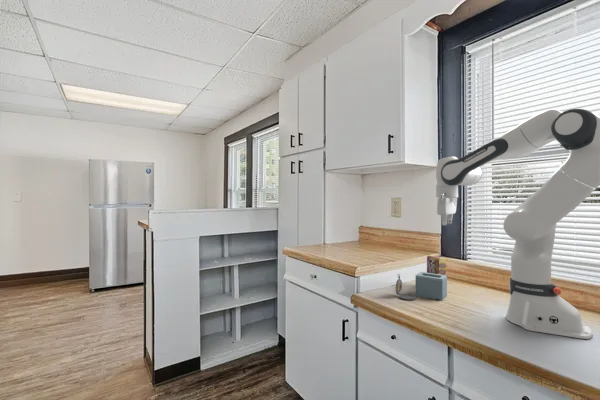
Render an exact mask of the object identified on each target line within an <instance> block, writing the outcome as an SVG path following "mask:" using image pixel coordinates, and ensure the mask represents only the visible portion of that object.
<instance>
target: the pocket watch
mask: <svg viewBox="0 0 600 400" xmlns="http://www.w3.org/2000/svg"><path fill="white" fill-rule="evenodd" d="M397 278H398V279H397V281H396V283H395V294H396V295H398V297H399V298H400V299H402V300H406V301H407V300H408V301H413V300H415V299H416V295H414V294H410V293H402V290H403V281H402V280H401V274H400V273H398V276H397Z"/></svg>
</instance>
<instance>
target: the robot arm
mask: <svg viewBox="0 0 600 400" xmlns="http://www.w3.org/2000/svg"><path fill="white" fill-rule="evenodd" d="M555 142H558V144H560V145H561V146H562V148H563V149H565V150H567V151H569V156H568V157H567V159H566V160H565V162H564V163H562V164H561V165H560V166H559V168H557V170H556V171H555V172H554V173H553V174H552V175H551V176H550V177H549V178H548V179H547V180H546V181H545V183H543V184H542V185H541V187H539V188H538V189H537V190H536V191H534V193H533V194H532V195H530V196H529V197H528V198H526V199H525V200H523V202H522V203H520V204H519V206H517V207H516V208H515V209H514V210H513V211H512V212H511V213H509V214H508V215H507V216H506V217H505V219H504V221H503V229H504V232H505V233H506V235H508V237H509V238H511V239H512V240H515V243H514V247H513V251H512V254H511V256H510V257H511V261H510V263H511V264H510V279H509V280H508V281H509V283H508V284H509V285H508V288H509V289H508V290H509V292H508V293H509V295H510V296H509V304H508V308H507V312H506V314H505V318H506V320H507V321H509V322H511V323H512V324H515V325H518V326H520V327H521V328H523V329H526V330H527V331H530V332H538V333H544V334H551V335H558V336H562V337H563V336H564V337H571V338H575V339H583V340H589V339H591V338H592V337H593V331H592V329H591V328H590V326H588V325H587V324H585V323H584V322H583V318H582V316H581V313H580V312H579V310H578V309H577V308H576V307H575V306H573V305H572V304H570V303H569V302H568V301H567V300H566V299H564V298H562V297H561V296H560V295H561V294H562V289H561V287H559V285H557V284H554V283H553V282H552V256H553V252H554V251H553V250H554V244H555V238H556V227H557V224H558V222H559V221H561V220H562V219H564V218H565V217H566V216H567V215H568V214H570V213H571V212H573V211H574V210H575V209H576V208H577V207H579V205H580V204H582V203H583V202H584V200H586V199H587V198H588V197H589V196H590V195H591V194H592V193H593V192H594V191H595V190H596V189H598V187H599V186H600V115H598V114H596V113H594V112H592V111H590V110H588V109H584V108H572V109H571V108H570V109H566V110H564V111H563V112H562V111H560V110H558V109H555V108H551V109H550V108H549V109H547V110H544V111H541V112H539V113H537V114H536V115H533V116H531V117H529V118H528V119H526V120H524V121H522V122H521V123H519V124H518V125H516V126H515V127H513V128H512V129H510V130H509V131H507V132H505V133H504V134H501V135H500V136H499V137H497V138H495V139H494V140H491V141H489V142H487V143H486V144H484V145H481V146H480V147H478V148H477V149H475V150H473V151H472V152H470V153H468V154H466V155H464V156H463V157H461V158H459V157H456V156H453V155H452V156H451V155H449V156H444V157H441V158H440V159H438V161H437V164H436V171H435V172H436V173H435V177H436V185H435V197H436V198H437V205H436V206H437V207H436V212H437V215H438V216H439V215H440V221H441V225H442V226H447V225H451V224H452V222H453V216H454V214H456V212H457V204H458V198H459V196H460V195H459V186H473V185H476V184H477V183H479V182H480V180H481V179H482V175H483V174H482V173H483V172H482V168H481V167H482V166H485V165H486V164H488V163H490V162H494V161H496V160H503V159H517V158H522V157H526V156H528V155H531V154H533V153H535V152H537V151H538V150H539V151H540V149H542V148H544V147H546V146H547V145H549V144H552V143H555Z"/></svg>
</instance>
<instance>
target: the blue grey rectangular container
mask: <svg viewBox="0 0 600 400" xmlns="http://www.w3.org/2000/svg"><path fill="white" fill-rule="evenodd" d="M420 296H421V297H420ZM447 296H448V276H447V274H446V275H440V274H433V273H427V272H424V271H420V272H419V273H417V274H415V297H420V298H425V297H428V298H427V299H430V298H434V299H433V300H436V299H439V300H438V301H441V300H443V299H444V298H445V297H446V298H447ZM446 298H445V299H446ZM445 299H444V300H445ZM444 300H443V301H444Z"/></svg>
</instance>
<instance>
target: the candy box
mask: <svg viewBox="0 0 600 400" xmlns="http://www.w3.org/2000/svg"><path fill="white" fill-rule="evenodd" d="M426 273H433V274H440V275H447V258H445V257H441V256H437V255H433V254H430V255H427V256H426Z"/></svg>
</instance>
